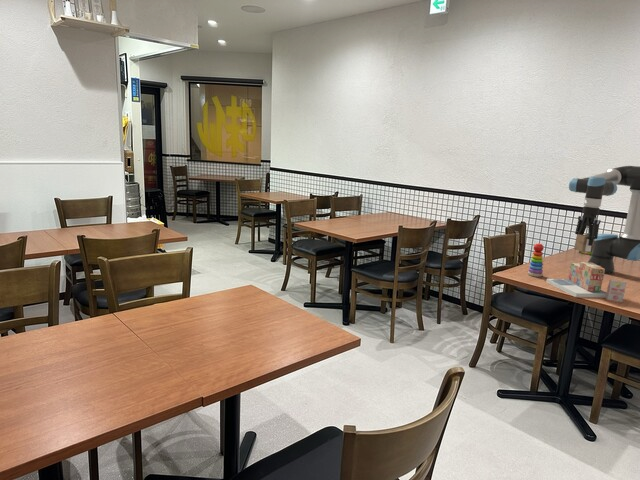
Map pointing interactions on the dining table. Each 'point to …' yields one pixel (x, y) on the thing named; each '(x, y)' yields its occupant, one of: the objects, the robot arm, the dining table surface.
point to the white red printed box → (615, 291)
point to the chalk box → (586, 252)
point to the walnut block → (582, 242)
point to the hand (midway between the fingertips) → (583, 249)
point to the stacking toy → (536, 261)
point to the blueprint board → (574, 288)
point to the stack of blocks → (587, 275)
